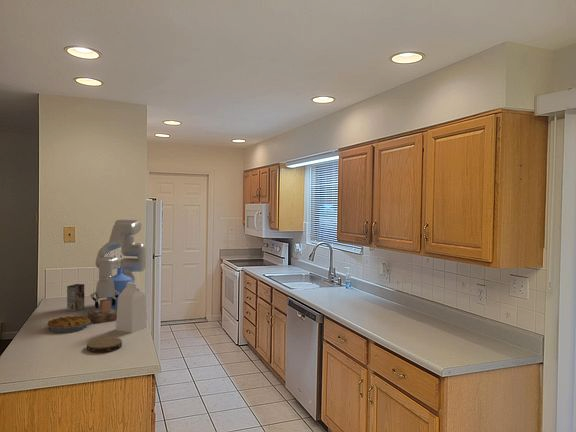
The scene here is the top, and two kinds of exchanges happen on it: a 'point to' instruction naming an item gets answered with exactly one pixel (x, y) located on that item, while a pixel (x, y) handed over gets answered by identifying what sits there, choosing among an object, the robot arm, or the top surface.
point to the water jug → (119, 284)
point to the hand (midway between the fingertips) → (105, 306)
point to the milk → (131, 309)
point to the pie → (68, 323)
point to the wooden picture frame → (102, 316)
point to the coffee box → (75, 297)
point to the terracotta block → (105, 305)
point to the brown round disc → (104, 345)
